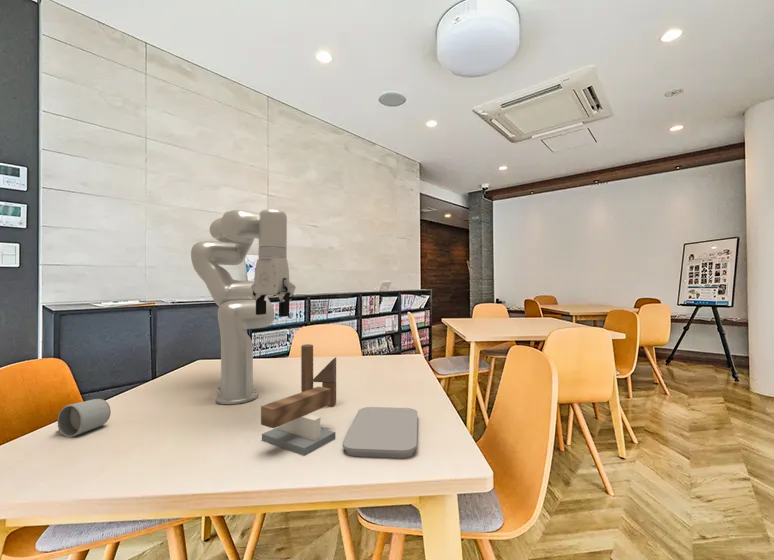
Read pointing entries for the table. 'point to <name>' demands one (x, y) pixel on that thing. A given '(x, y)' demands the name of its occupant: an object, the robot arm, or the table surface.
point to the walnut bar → (294, 406)
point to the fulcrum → (300, 435)
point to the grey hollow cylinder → (83, 417)
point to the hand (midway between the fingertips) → (272, 315)
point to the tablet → (382, 433)
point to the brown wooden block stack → (324, 376)
